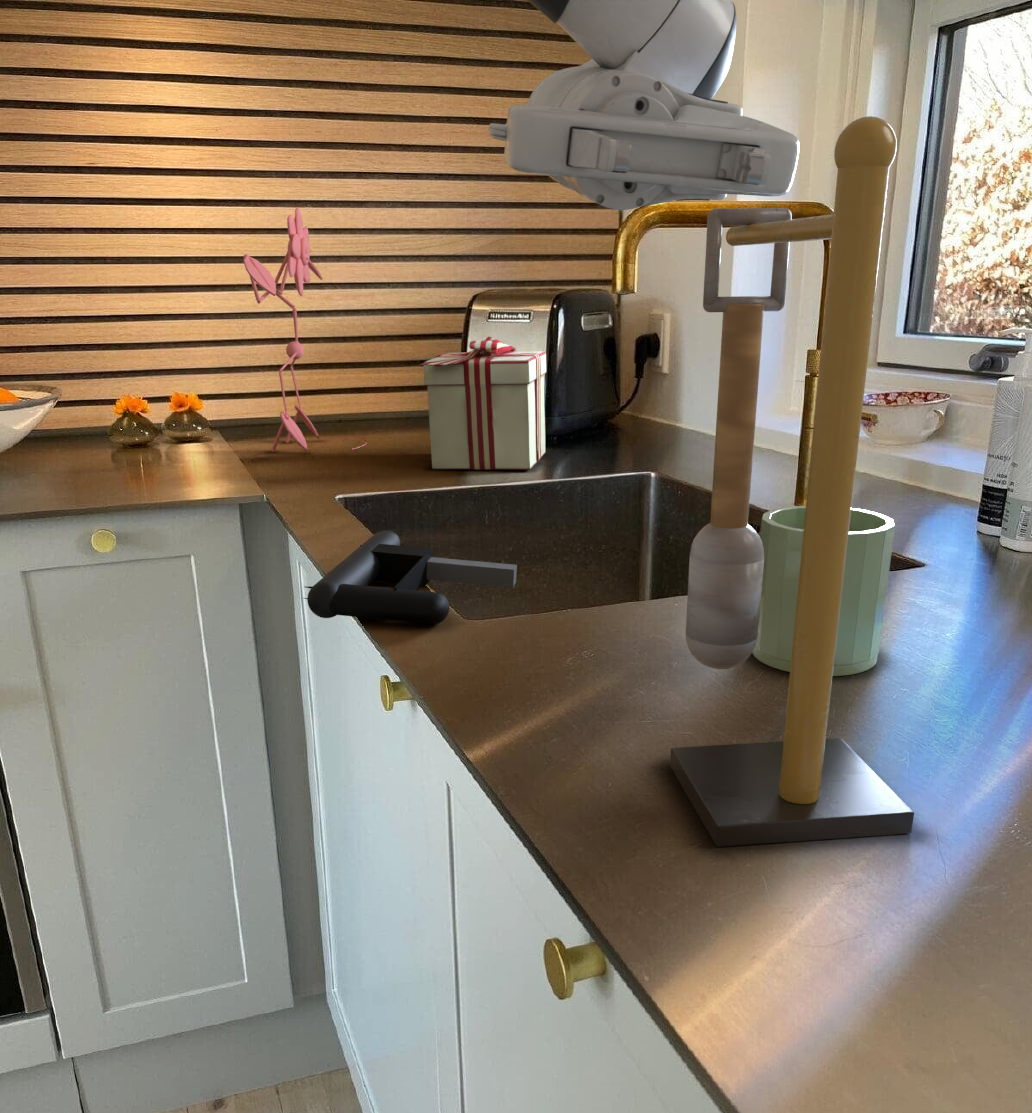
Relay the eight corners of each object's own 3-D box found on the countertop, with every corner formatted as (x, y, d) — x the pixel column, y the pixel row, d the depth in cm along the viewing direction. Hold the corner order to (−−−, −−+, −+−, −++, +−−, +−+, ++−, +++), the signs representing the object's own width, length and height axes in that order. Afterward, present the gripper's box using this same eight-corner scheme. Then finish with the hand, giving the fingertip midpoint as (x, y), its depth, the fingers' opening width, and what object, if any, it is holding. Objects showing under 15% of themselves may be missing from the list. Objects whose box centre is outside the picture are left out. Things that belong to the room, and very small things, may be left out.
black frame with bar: (526, 540, 98) (361, 525, 100) (489, 603, 80) (288, 584, 82) (524, 574, 100) (362, 559, 102) (487, 643, 81) (289, 623, 83)
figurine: (251, 461, 156) (225, 203, 143) (292, 435, 180) (273, 212, 167) (353, 460, 155) (336, 201, 142) (381, 434, 179) (368, 211, 166)
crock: (846, 632, 80) (861, 503, 77) (898, 673, 72) (917, 531, 69) (735, 637, 80) (745, 507, 76) (776, 679, 71) (788, 536, 68)
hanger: (778, 691, 69) (826, 157, 58) (911, 833, 52) (1021, 108, 40) (630, 699, 68) (649, 157, 56) (716, 847, 51) (769, 106, 39)
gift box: (427, 452, 161) (423, 335, 155) (547, 453, 160) (547, 334, 153) (406, 472, 145) (400, 343, 139) (538, 473, 144) (538, 342, 137)
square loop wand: (743, 653, 68) (777, 210, 58) (766, 677, 64) (807, 205, 54) (674, 656, 67) (696, 210, 57) (693, 681, 63) (720, 206, 53)
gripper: (486, 76, 72) (536, 88, 61) (755, 106, 77) (847, 122, 66) (478, 176, 75) (524, 206, 64) (737, 199, 80) (821, 230, 69)
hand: (690, 164), depth 65 cm, fingers open, 8 cm apart
